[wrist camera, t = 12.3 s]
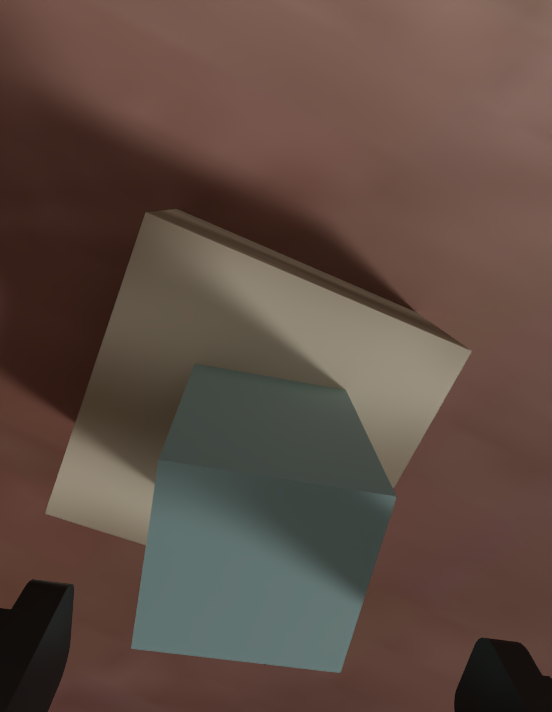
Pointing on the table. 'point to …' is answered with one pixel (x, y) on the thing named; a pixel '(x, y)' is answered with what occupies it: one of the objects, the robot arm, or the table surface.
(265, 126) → the table surface
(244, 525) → the teal block
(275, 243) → the table surface
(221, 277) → the birch block
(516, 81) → the table surface
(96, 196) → the table surface
